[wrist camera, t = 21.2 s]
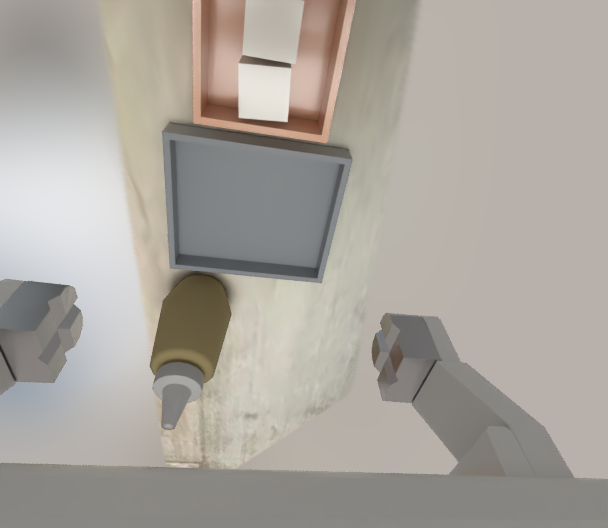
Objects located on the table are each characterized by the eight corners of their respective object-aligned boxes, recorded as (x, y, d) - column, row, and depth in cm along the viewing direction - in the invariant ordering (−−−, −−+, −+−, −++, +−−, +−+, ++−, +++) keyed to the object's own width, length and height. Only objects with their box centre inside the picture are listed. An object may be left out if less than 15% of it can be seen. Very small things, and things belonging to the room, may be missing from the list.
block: (242, 54, 32) (238, 63, 28) (290, 59, 32) (291, 68, 29) (242, 104, 34) (238, 117, 31) (287, 108, 34) (287, 122, 31)
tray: (169, 122, 35) (162, 131, 33) (348, 149, 38) (352, 159, 35) (175, 254, 44) (169, 268, 42) (319, 269, 46) (321, 282, 44)
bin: (203, -50, 28) (191, -54, 24) (350, -19, 29) (360, -18, 26) (202, 107, 34) (193, 123, 31) (322, 126, 36) (327, 143, 32)
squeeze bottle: (247, 294, 48) (233, 428, 34) (203, 323, 51) (172, 458, 37) (200, 255, 44) (162, 387, 30) (155, 288, 47) (99, 424, 33)
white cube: (250, -13, 29) (246, -11, 26) (301, -2, 29) (304, 0, 26) (246, 46, 31) (242, 54, 28) (294, 55, 32) (295, 64, 29)
